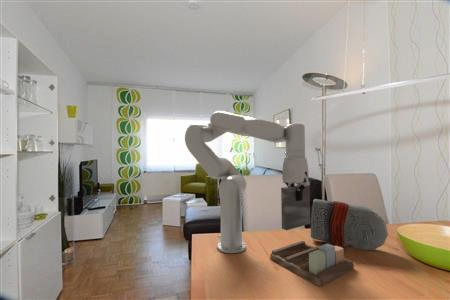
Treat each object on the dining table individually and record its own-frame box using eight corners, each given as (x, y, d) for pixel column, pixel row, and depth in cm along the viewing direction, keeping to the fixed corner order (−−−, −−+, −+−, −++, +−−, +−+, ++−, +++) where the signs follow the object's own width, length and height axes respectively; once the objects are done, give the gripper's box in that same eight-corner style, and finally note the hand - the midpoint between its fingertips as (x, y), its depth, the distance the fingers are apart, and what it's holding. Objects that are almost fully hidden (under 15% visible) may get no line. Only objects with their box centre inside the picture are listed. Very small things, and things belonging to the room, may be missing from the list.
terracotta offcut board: (328, 267, 83) (328, 248, 83) (336, 264, 86) (335, 245, 86) (336, 271, 81) (336, 251, 81) (343, 267, 83) (343, 248, 83)
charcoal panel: (281, 228, 89) (281, 187, 89) (305, 222, 97) (304, 184, 97) (286, 230, 87) (286, 188, 87) (310, 223, 95) (309, 185, 95)
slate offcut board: (319, 271, 80) (318, 246, 80) (327, 268, 83) (327, 243, 83) (326, 275, 78) (326, 249, 78) (335, 271, 80) (334, 246, 80)
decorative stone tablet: (312, 199, 105) (391, 212, 92) (313, 197, 111) (387, 208, 98) (308, 241, 105) (386, 259, 93) (309, 236, 111) (383, 252, 98)
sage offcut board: (309, 276, 77) (308, 253, 77) (317, 272, 80) (317, 249, 80) (316, 280, 75) (316, 256, 75) (325, 276, 77) (325, 252, 77)
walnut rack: (270, 258, 90) (270, 251, 90) (303, 247, 101) (303, 240, 101) (319, 286, 72) (319, 277, 72) (353, 268, 82) (353, 260, 82)
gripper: (274, 154, 97) (274, 197, 97) (305, 154, 83) (306, 205, 83) (286, 154, 101) (287, 195, 101) (318, 154, 87) (319, 202, 87)
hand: (295, 199), depth 92 cm, fingers closed on charcoal panel, 2 cm apart
